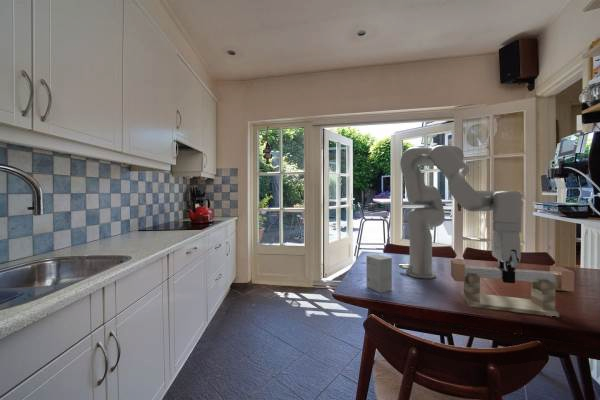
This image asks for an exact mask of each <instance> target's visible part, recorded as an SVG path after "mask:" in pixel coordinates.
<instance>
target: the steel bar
mask: <svg viewBox="0 0 600 400" xmlns="http://www.w3.org/2000/svg"><path fill="white" fill-rule="evenodd" d="M503 270H504V268H498V267H491V266H489V267H488V266H477V265H476V266H474V265H466V264H465V263H464V262H462V260H461V259H460V260H459V259H450V276H451V277H452V279H453V280H454V281H455V282H461V283H462V282H463V283H464V282H465V276H468V277H469V275H475V276H480V279H481V278H483V279H486V278H487V279H493V280H495V279H496V280H503ZM515 281H520V282H521V281H522V282H530V283H531V282H542V281H544V282H554V283H556V287H557V288H558V289H560V290H561V291H566V292H567V291H568V292H575V271H573V270H570V269H569V268H565V267H564V266H557V265H556V266H555V265H549V271H548V270H534V269H533V270H532V269H518V268H516V272H515Z"/></svg>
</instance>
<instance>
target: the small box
mask: <svg viewBox="0 0 600 400" xmlns="http://www.w3.org/2000/svg"><path fill="white" fill-rule="evenodd" d="M392 260H393V259H392V257H388V256H385V255H382V254H379V253H376V254H368V255H366V287H367V288H369V289H372V290H373V291H376V292H377V293H379V294H382V293H386V292H389V291H390V292H391V291H393V270H392V269H393V266H392V265H393V264H392V263H393V262H392Z"/></svg>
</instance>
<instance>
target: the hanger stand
mask: <svg viewBox="0 0 600 400" xmlns="http://www.w3.org/2000/svg"><path fill="white" fill-rule="evenodd" d="M530 284H531V285H530V287H531V288H530V299H529V298H521V297H512V296H505V295H495V294H484V293H481V278H480V276H475V275H469V277H468V276H465V282H463V291H461V296H462V298H463V299H464V300H465V303H467V304H468V306H469V307H474V308H481V309H490V310H497V311H505V312H513V313H520V314H521V313H522V314H528V315H538V316H544V315H545V316H544V317H546V316H547V317H552V316H556V317H555V318H560V313H559V312H558V311H557V310H556V290H555V287H556V283H554V282H544V281H542V282H530Z"/></svg>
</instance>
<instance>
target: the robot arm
mask: <svg viewBox="0 0 600 400" xmlns="http://www.w3.org/2000/svg"><path fill="white" fill-rule="evenodd" d="M464 157H465V156H464V151H463V150H462V149H461V148H460V147H459V146H457V145H456V146H455V145H447V144H440V145H439V144H438V145H436V146H434V147H433V148H432V147H425V146H424V147H423V146H413V147H409V148H407V149H406V150H405V151H404V152H403V153H402V155H401V157H400V160H399V161H400V162H399V164H400V170H401V173H402V175H403V176H402V177H403V180H404V187H405V188H404V189H405V192H406V199H407V201H408V202H409V204H410V205H413V206H423V207H415V208H413V209H411V210H410V211H408V213H407V217H406V218H407V225H408V230H409V262H408V263H406V264H402V263H399V267H398V268H399V269H402V270H406V271H405V273H406V275H408V276H409V277H413V278H416V279H417V278H418V279H426V280H427V279H433V278H436V274H437V273H435V271H433V238H432V233H431V231H430V228H436V227H440V226H441V225H443V223H444V221H445V210H444V205H443V201H442V200H443V199H442V195H441V192H440V190H439V189H438V188H437V187H436V186H434V185H429V184H427V185H426V183H425V180H424V179H425V177H424V175H423V172H422V171H421V169H420V168H419V166H422V167H423V166H424V167H436V168H437V169H438V171H439V172H440V173H441V174H442V175H443V176H444V177H445V179H446V180H447V181H448V182H447V185H448V190H449V194H451V196H452V197H453V199H454V200H455V201H456V203H458V205H459V206H461V208H463V209H465V210H466V211H468V212H471V213H472V212H474V213H475V212H492V231H493V235H492V243H491V244H492V245H491V255H492V257H494V258H495V259H496V260H497V268H504V270H503V279H502V283H506V284H515V283H516V280H515V272H516V269H517V268H518V267H519V265H518V264H519V263H520V262H521V259H522V251H521V250H522V248H521V246H522V245H521V236H520V234H521V233H522V215H523V214H522V212H523V211H522V210H523V209H522V208H523V206H522V205H523V203H522V200H523V198H522V197H523V196H522V193H521V191H517V190H498V191H494V190H475V189H474V188H473V187H472V185H470V184H469V182H468V180H467V179H466V178H465V177H466V176H467V175H468V173H469V171H470V167H469V166H468V165H467V164H466V163H465V162H464V161H463V160H464Z"/></svg>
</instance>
